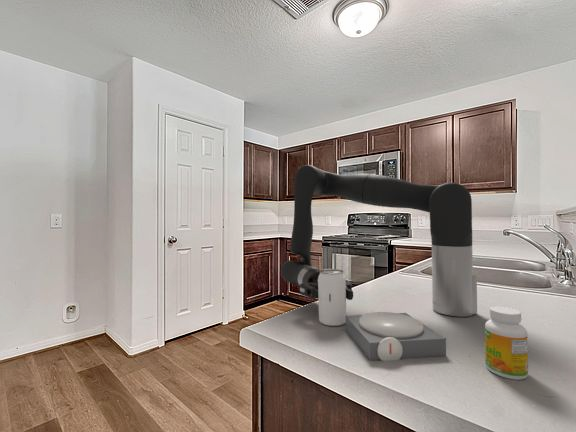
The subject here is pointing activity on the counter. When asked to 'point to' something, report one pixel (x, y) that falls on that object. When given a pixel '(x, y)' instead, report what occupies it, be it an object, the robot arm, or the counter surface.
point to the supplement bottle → (506, 344)
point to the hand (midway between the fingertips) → (341, 296)
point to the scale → (394, 336)
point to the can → (332, 297)
